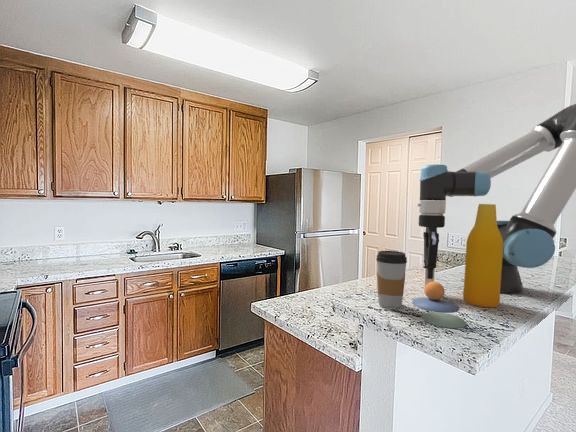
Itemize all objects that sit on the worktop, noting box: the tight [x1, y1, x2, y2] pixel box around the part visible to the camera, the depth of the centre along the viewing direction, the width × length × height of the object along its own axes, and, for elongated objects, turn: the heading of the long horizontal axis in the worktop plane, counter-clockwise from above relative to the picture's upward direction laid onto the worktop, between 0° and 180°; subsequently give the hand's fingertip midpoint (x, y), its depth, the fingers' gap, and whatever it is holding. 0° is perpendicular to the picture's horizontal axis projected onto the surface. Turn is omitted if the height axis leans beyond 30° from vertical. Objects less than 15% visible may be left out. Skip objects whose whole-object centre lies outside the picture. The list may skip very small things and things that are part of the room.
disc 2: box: [421, 311, 467, 329], centre depth 80 cm, size 10×10×1 cm
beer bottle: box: [462, 203, 503, 308], centre depth 93 cm, size 9×9×29 cm
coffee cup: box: [375, 250, 408, 310], centre depth 90 cm, size 8×8×15 cm
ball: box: [424, 281, 446, 300], centre depth 96 cm, size 6×6×6 cm
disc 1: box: [412, 297, 459, 313], centre depth 91 cm, size 12×12×1 cm
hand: (428, 287), depth 102 cm, fingers closed
